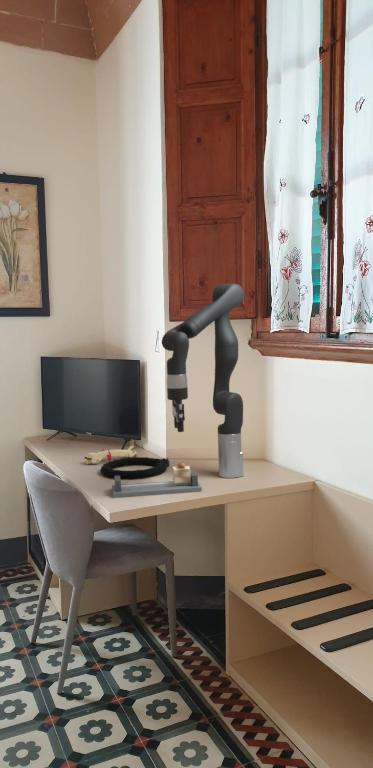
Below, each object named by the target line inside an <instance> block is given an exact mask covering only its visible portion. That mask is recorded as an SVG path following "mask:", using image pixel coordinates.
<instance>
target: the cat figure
mask: <svg viewBox="0 0 373 768" xmlns="http://www.w3.org/2000/svg"><path fill="white" fill-rule="evenodd" d="M128 444H129V447H128V448H127V449H121V448H119V449H107V450H106V449H105V448H103V449H101V451H99V452H98V451H97V452H88V453H87V454H86V455H85V456H84V457H83V458H84V459H85V460H84V462H85V465H90V464H94V465H96V464H97V465H98V464H100V462H101V461H104V459H107V461H108V462H110V461H113V460H112V459H113V458H135V457H138V452H137V451H133V450H132V449H133V448H134V447H135V442H134V441H133V440H129V441H128Z"/></svg>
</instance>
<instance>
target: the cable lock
mask: <svg viewBox="0 0 373 768" xmlns="http://www.w3.org/2000/svg"><path fill="white" fill-rule="evenodd" d="M109 461H110V460H109ZM109 461H107V462H106V463H103V464H102V466H101V467H100V473H101V474H102V475H103V476H104V477H106V478H109V479H115V477H114V476H119V475H120V479H121V480H138V479H139V480H140V479H147V478H152V477H156V476H158V475H161V474H163V473H166V471H167V468H168V467H170V464H171V462H170V460H169V458H168V457H166V458H164V457H163V458H160V457H159V458H154V457H147V456H145V457H142V456H141V457H140V456H137V457H123V458H120V459H113V460H111V461H110V462H109ZM132 466H146V467H149V466H150V468H145V469H134V470H121V469H117V468H122V467H132Z"/></svg>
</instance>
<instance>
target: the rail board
mask: <svg viewBox="0 0 373 768" xmlns="http://www.w3.org/2000/svg"><path fill="white" fill-rule="evenodd" d="M114 477H115V478H114V484H112V485H111V488H112V489H111V490H112V499H113V498H114V499H117V498H118V499H119V498H129V497H143V496H145V497H146V496H156V495H157V496H158V495H168V494H169V495H170V494H172V495H173V494H183V493H184V494H185V493H186V494H187V493H197V492H198V493H199V492H200V491H201V492H203V487H202V486H201V484H200V483H199V479H198V478H199V476H198V474H197V472H196V471H195V470H194V469H193V470H191V482H186V483H174V481H173V480H166V481H153V482H140V483H127V484H125V483H124V484H122V479H120V475H119V476H114Z"/></svg>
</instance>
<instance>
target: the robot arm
mask: <svg viewBox="0 0 373 768" xmlns="http://www.w3.org/2000/svg"><path fill="white" fill-rule="evenodd" d="M243 289H244V288H242V286H241V285H240V284H237V283H221V284H217V285H216V286H215V287H214V288H213V291H212V303H210V304H208V305H206V306H204V307H202V308H200V309H199V310H196V311H195V312H194V313H192V314H191V315H190V316H189V317H188V318H186V319H185V320H184V321H183V322H182V323H179V324H177V325H176V326H174V327H172V328H171V329H169V330H168V331H166V332H165V333H164V334H163V336H162V339H161V346H162V348H163V349H165V350H166V351H169V352H170V351H171V352H172V355H171V357H169V358H168V359H167V360H166V395H167V400H169V401H171V403H172V404H171V407H172V408H171V409H172V411H171V412H172V416H173V423H174V424H173V425H174V429H177V432H178V433H184V432H185V430H184V429H185V424H184V421H185V420H186V417H185V404H184V403H183V401H184V400H187V399H188V398H189V392H188V391H189V390H188V389H189V388H188V376H187V364H186V363H187V359H188V354H189V349H190V339H193V338H196V337H197V336H198V335H200V334H201V332H203V331H204V330H205V329H206V328H207V327H209V326H210V325H211V324H212V323H213V322H214V383H213V384H214V385H213V393H212V394H213V395H212V407H213V410H214V411H215V413H217V414H218V415H221V416H224V422H222V423H221V424H218V426H217V450H218V451H217V452H218V453H217V454H218V456H217V457H218V476H219V477H221V478H224V479H225V478H226V479H234V478H239V477H244V452H243V451H242V426H243V423H244V400H243V398H242V396H241V395H240V394H239V393H237V392H232V391H230V381H231V376H232V373H234V370H235V368H236V365H237V363H238V360H239V340H238V336H237V333H235V330H234V328H233V326H232V324H231V320H230V319H231V318H230V311H232V310H233V309H235V308H237V307H238V306H239V305H241V303H242V302H243V300H244V296H245V295H244V294H245V293H244V290H243Z"/></svg>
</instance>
